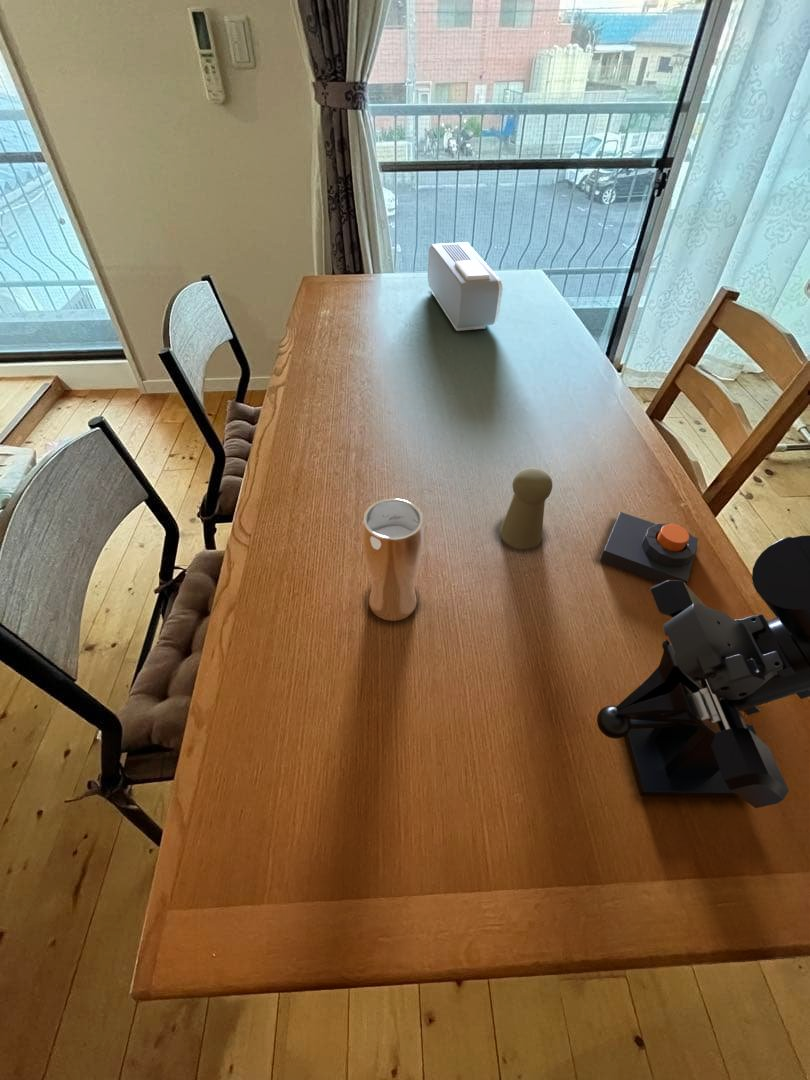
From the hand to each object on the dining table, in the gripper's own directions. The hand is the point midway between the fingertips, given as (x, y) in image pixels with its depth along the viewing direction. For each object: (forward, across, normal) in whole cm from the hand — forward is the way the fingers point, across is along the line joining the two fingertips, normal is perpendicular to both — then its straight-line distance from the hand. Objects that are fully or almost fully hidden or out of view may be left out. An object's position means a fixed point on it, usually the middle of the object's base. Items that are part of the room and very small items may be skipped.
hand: (619, 713), depth 51 cm
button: (-7, -28, +16) cm, 33 cm away
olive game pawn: (+9, -33, +5) cm, 34 cm away
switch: (-1, 0, +5) cm, 5 cm away
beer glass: (+22, -20, -8) cm, 31 cm away
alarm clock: (+12, -109, +2) cm, 109 cm away
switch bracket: (0, 0, +13) cm, 13 cm away
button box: (-3, -29, +17) cm, 34 cm away
